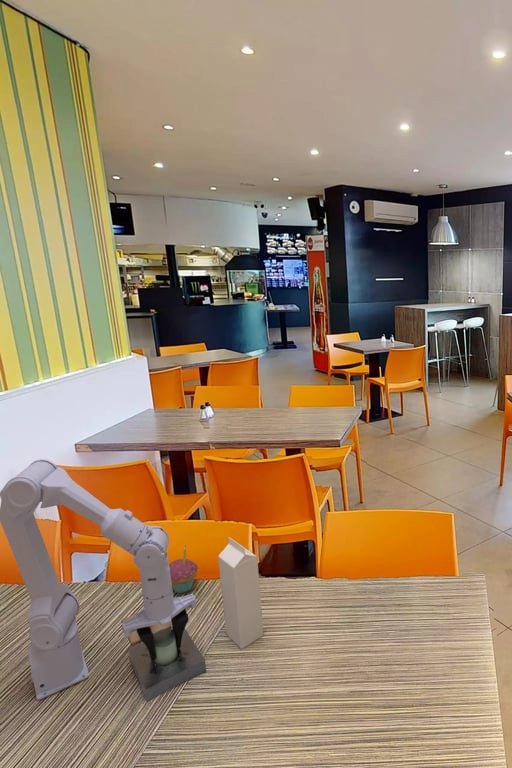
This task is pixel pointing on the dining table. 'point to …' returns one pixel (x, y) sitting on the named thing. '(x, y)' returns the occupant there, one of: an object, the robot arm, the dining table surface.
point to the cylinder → (165, 647)
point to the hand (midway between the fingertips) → (165, 650)
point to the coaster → (134, 635)
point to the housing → (166, 667)
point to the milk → (240, 594)
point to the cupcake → (182, 573)
